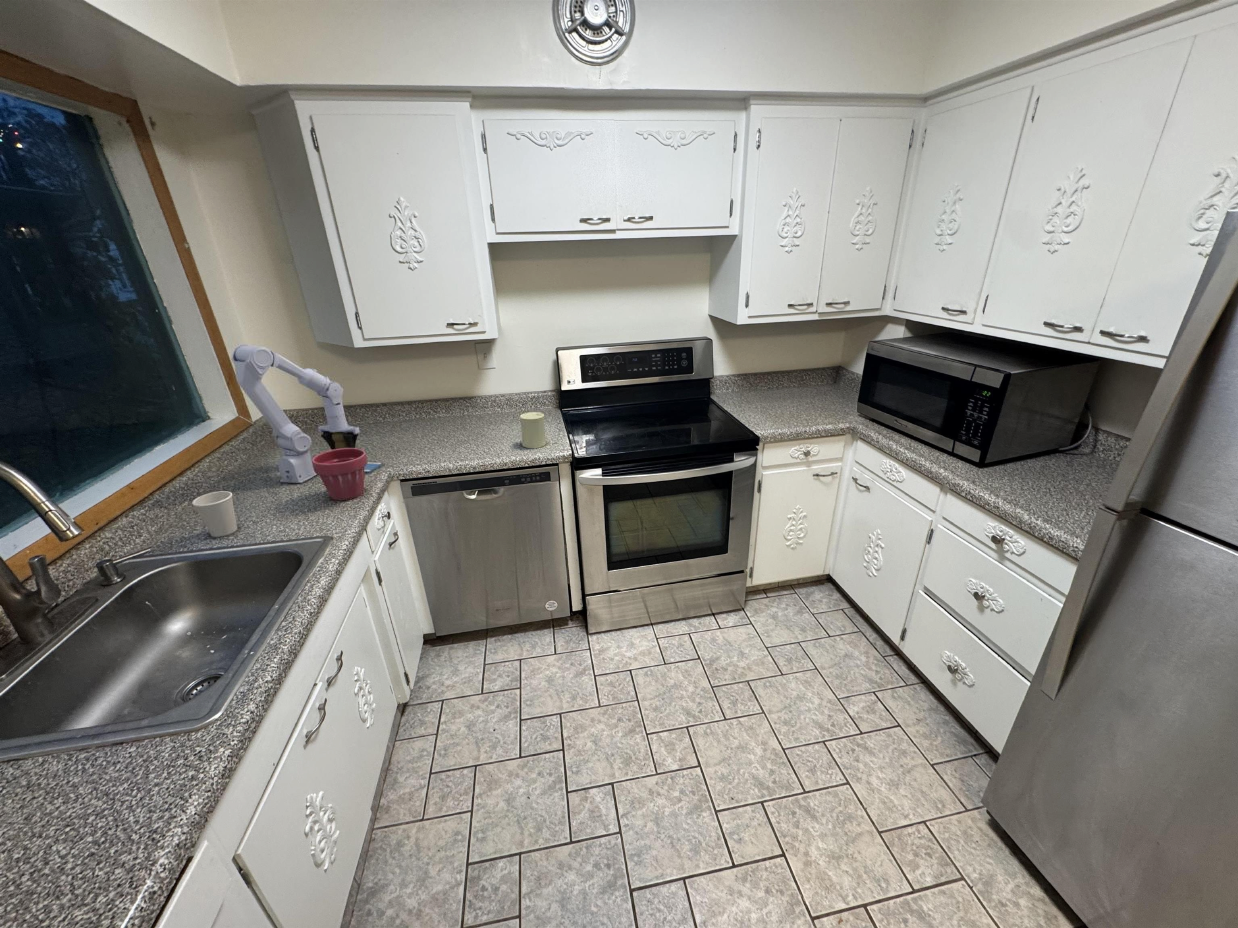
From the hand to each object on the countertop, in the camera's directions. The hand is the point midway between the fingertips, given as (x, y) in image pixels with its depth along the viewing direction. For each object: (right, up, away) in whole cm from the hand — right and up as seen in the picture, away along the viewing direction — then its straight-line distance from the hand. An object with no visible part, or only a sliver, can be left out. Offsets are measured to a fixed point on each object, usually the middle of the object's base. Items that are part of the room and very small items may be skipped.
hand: (343, 451), depth 180 cm
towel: (+10, -6, -5) cm, 13 cm away
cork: (0, -3, +1) cm, 4 cm away
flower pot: (+15, -14, -25) cm, 32 cm away
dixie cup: (-7, -23, -45) cm, 51 cm away
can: (+65, +3, +16) cm, 67 cm away
